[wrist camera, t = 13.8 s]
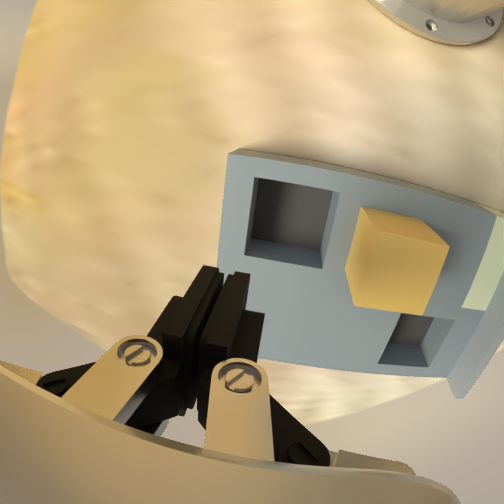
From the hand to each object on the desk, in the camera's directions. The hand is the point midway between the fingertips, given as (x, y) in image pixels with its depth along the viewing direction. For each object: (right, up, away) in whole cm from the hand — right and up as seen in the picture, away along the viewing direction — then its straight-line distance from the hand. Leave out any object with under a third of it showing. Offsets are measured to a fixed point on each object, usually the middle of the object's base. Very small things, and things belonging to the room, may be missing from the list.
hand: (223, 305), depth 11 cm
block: (+9, +2, +6) cm, 11 cm away
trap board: (+9, 0, +10) cm, 14 cm away
